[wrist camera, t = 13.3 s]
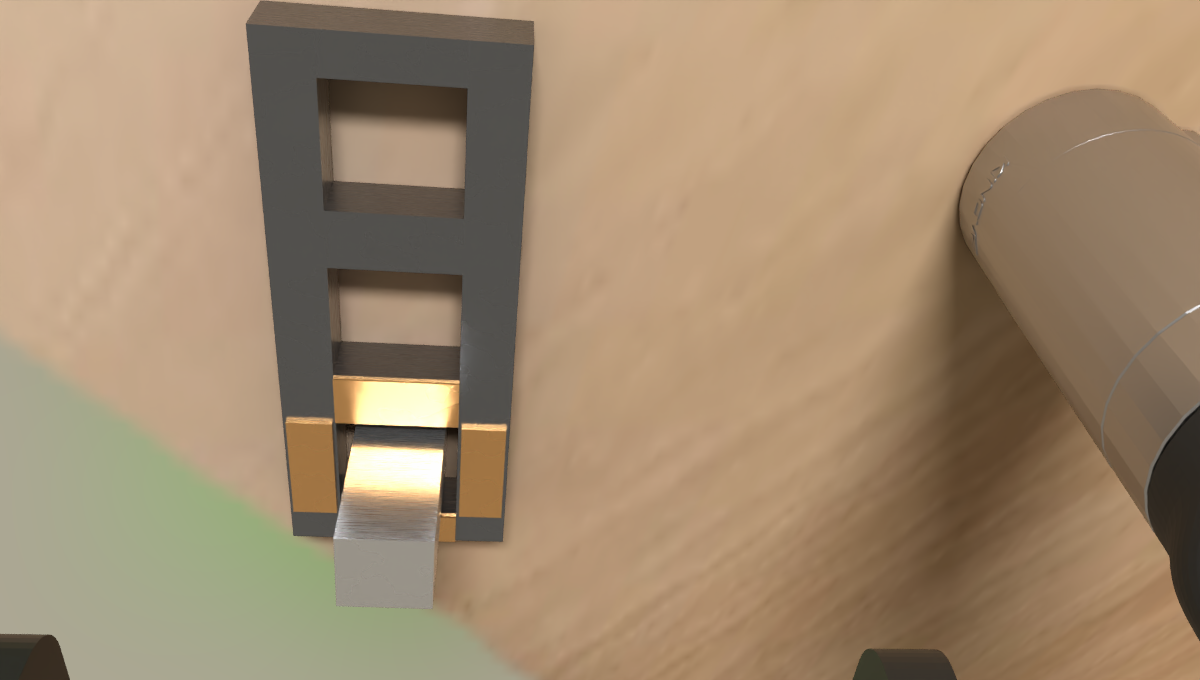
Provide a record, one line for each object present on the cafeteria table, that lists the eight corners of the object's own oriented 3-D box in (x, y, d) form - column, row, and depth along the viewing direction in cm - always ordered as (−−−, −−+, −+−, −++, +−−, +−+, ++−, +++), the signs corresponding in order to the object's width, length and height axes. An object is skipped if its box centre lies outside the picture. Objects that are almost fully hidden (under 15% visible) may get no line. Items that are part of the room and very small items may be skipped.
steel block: (447, 402, 51) (434, 542, 44) (445, 466, 53) (432, 608, 46) (361, 398, 50) (333, 538, 43) (362, 462, 53) (336, 605, 45)
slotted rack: (533, 21, 41) (533, 46, 38) (503, 505, 55) (502, 544, 53) (260, 0, 40) (244, 25, 37) (302, 499, 54) (292, 538, 52)
